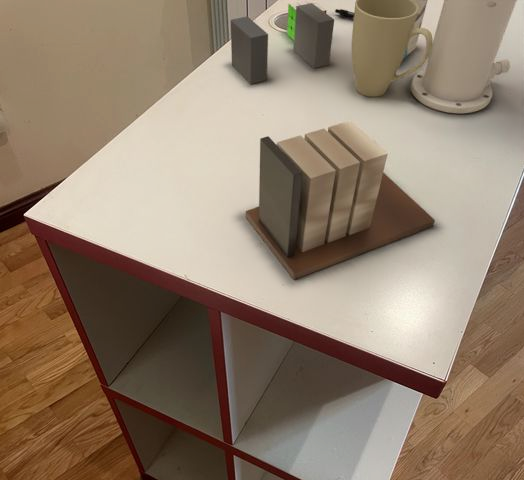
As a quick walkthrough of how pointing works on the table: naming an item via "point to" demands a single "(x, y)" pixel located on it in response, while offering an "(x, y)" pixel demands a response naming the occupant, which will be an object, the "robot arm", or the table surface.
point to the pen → (345, 13)
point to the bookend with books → (329, 199)
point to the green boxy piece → (293, 15)
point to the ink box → (416, 25)
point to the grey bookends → (305, 42)
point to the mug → (383, 42)
